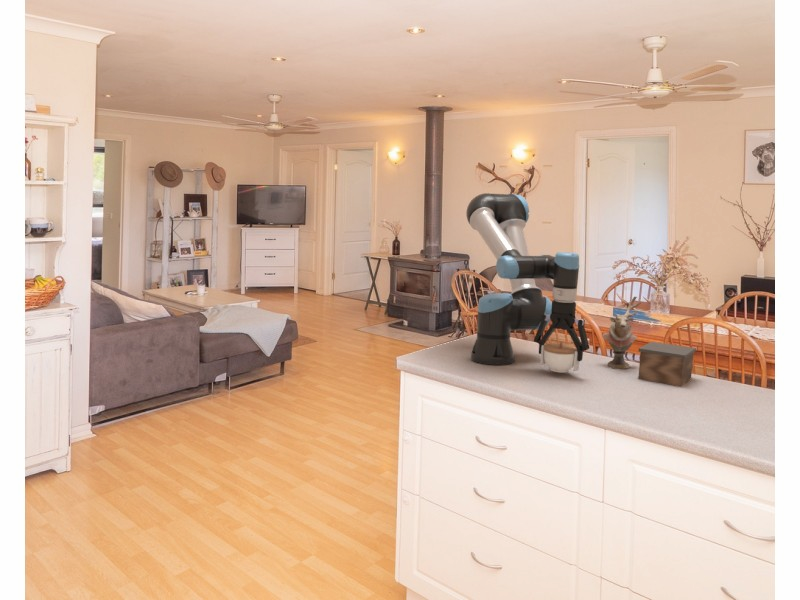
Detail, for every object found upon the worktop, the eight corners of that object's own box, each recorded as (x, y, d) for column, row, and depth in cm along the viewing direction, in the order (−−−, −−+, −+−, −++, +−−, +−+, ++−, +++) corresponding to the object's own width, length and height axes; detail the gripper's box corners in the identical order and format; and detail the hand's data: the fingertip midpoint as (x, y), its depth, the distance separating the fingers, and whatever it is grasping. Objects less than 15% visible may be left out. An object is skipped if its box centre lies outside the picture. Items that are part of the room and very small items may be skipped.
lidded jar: (549, 364, 215) (551, 337, 213) (580, 369, 209) (582, 341, 207) (537, 370, 206) (539, 342, 205) (569, 376, 200) (571, 347, 199)
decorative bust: (618, 370, 210) (624, 294, 210) (596, 365, 222) (601, 294, 222) (646, 371, 213) (651, 297, 213) (622, 367, 225) (627, 297, 225)
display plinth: (636, 378, 204) (638, 348, 203) (649, 370, 215) (651, 341, 214) (682, 387, 196) (685, 355, 194) (693, 378, 207) (696, 348, 205)
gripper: (525, 297, 208) (521, 362, 211) (595, 306, 194) (589, 376, 197) (535, 295, 214) (531, 358, 217) (603, 303, 200) (598, 371, 203)
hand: (559, 367), depth 207 cm, fingers closed on lidded jar, 11 cm apart
